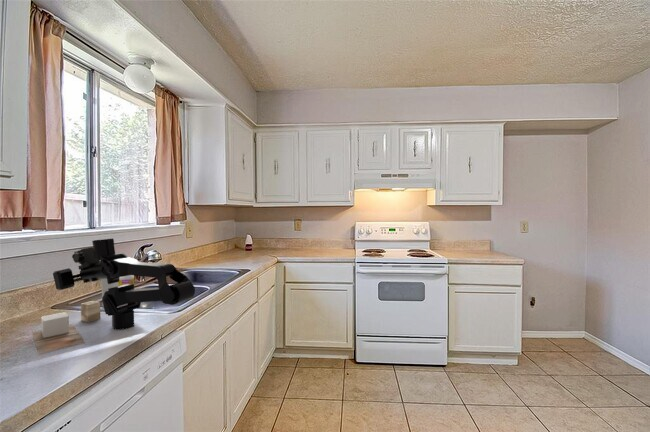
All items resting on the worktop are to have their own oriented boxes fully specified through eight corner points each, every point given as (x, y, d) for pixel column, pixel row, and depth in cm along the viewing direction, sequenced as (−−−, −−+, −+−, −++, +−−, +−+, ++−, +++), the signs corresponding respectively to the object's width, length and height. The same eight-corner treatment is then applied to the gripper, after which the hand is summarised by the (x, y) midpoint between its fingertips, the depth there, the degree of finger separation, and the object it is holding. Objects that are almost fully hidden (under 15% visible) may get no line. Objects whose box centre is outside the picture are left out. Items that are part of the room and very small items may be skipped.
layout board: (85, 347, 92) (85, 342, 92) (38, 358, 85) (38, 354, 84) (72, 327, 107) (72, 323, 107) (32, 335, 100) (32, 332, 100)
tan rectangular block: (100, 321, 112) (100, 301, 112) (88, 325, 109) (87, 305, 109) (93, 320, 114) (93, 300, 114) (81, 323, 110) (80, 303, 110)
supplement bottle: (120, 301, 137) (119, 271, 137) (114, 298, 141) (113, 269, 141) (137, 297, 142) (136, 269, 142) (130, 295, 146) (130, 267, 146)
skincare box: (114, 308, 128) (113, 277, 127) (101, 309, 127) (100, 278, 126) (120, 303, 134) (119, 274, 133) (107, 304, 132) (107, 275, 132)
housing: (69, 332, 100) (68, 316, 100) (43, 337, 95) (43, 321, 95) (66, 327, 104) (65, 311, 104) (41, 332, 100) (41, 316, 99)
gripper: (121, 242, 116) (93, 248, 122) (65, 253, 99) (34, 259, 104) (128, 272, 116) (99, 277, 122) (73, 288, 99) (42, 293, 104)
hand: (71, 276), depth 113 cm, fingers open, 9 cm apart
